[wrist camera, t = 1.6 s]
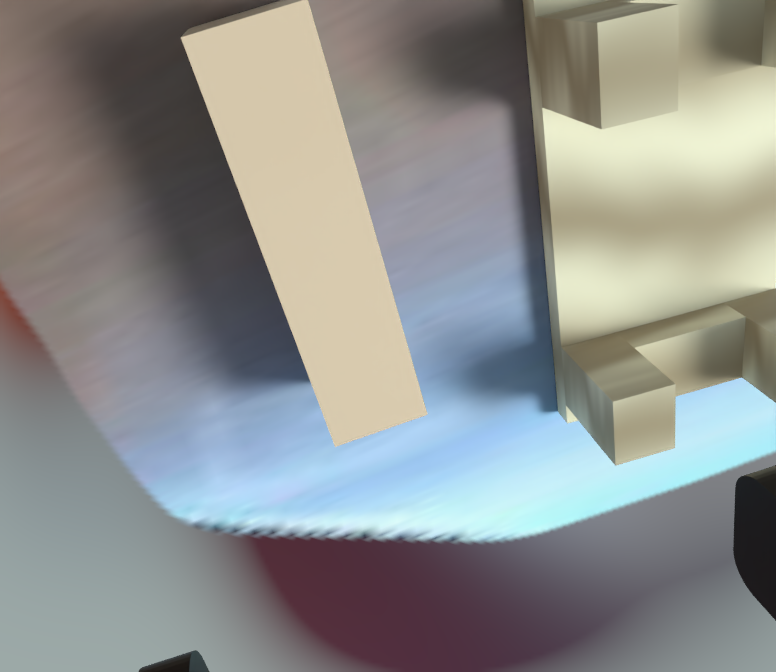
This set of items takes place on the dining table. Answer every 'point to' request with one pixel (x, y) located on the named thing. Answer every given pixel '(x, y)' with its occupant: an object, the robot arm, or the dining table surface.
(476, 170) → the dining table surface
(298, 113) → the clay bar
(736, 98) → the rack
